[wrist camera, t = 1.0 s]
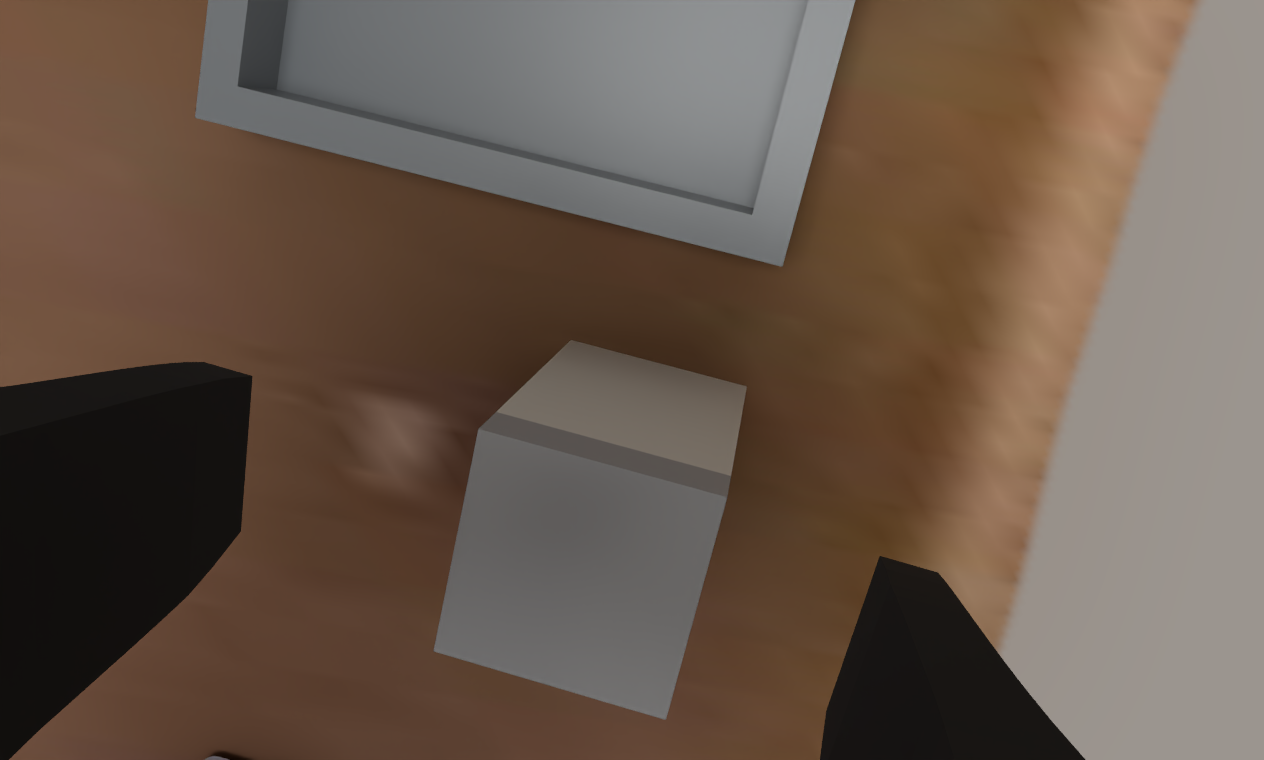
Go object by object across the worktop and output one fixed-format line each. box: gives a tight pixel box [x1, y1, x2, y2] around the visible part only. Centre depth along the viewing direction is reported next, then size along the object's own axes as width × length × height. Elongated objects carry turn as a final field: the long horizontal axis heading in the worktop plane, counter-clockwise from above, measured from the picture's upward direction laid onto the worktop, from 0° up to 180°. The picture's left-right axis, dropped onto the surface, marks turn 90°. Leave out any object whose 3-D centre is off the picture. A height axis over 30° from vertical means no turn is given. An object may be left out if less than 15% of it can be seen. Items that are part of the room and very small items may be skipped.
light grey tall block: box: [434, 340, 747, 720], centre depth 20 cm, size 4×4×7 cm
